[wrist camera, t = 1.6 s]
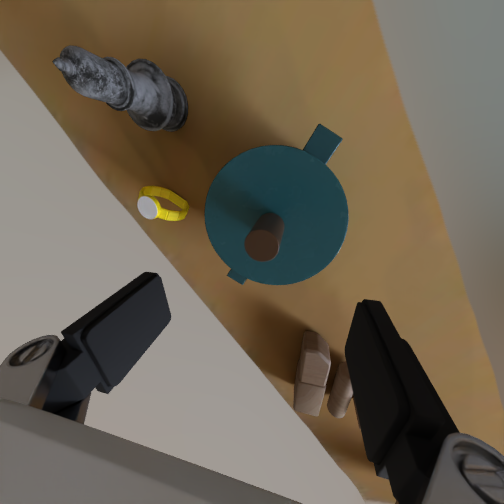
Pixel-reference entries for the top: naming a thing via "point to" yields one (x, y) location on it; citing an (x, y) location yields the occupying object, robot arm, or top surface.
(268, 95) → the top surface
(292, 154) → the pan lid
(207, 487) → the robot arm
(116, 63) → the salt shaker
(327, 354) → the wooden block set
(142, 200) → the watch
